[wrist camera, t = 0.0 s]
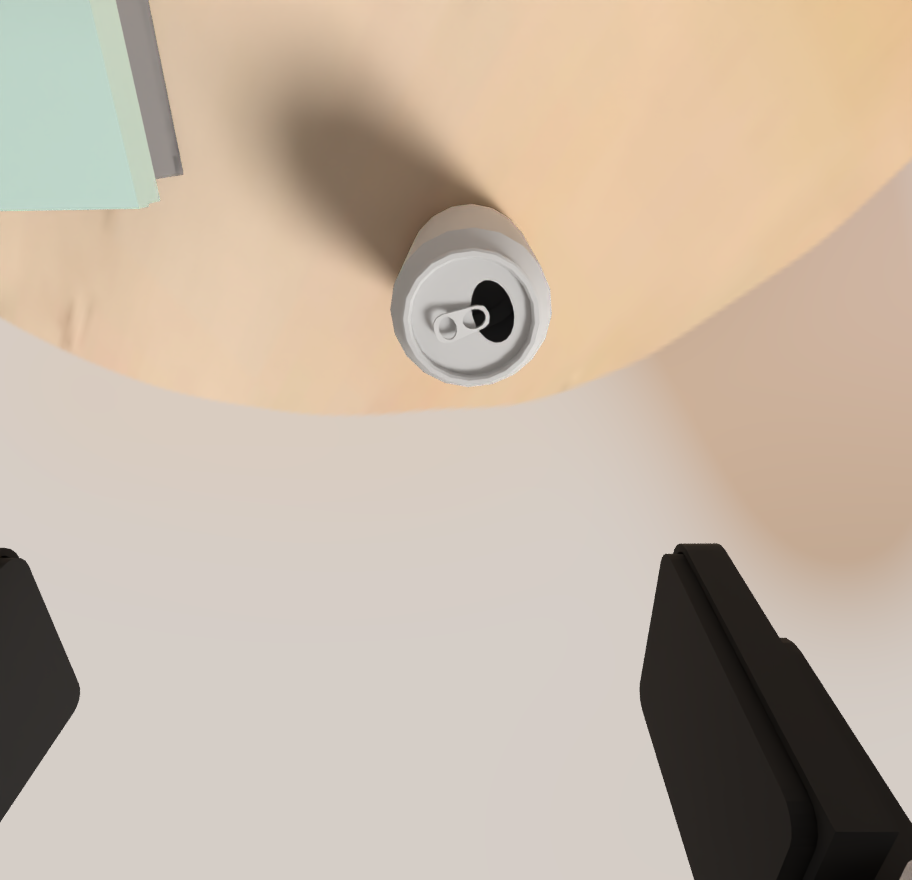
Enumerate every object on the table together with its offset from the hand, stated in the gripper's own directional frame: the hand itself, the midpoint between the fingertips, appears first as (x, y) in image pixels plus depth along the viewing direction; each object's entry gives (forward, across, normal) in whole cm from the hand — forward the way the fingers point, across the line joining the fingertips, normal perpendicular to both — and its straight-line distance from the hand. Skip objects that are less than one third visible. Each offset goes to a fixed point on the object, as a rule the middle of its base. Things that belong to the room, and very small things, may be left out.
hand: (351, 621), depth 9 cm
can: (+31, -2, +1) cm, 31 cm away
